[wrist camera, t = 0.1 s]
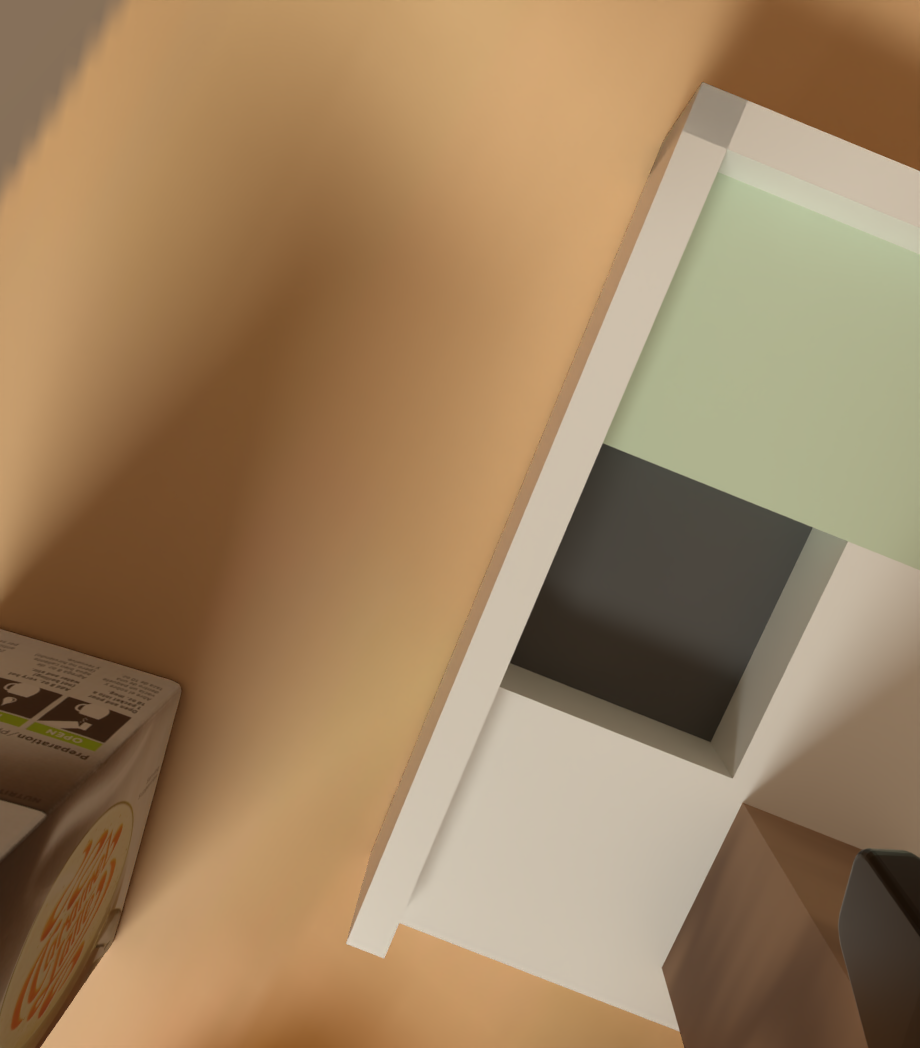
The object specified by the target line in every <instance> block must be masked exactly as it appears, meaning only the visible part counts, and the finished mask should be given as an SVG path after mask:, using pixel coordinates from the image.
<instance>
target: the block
mask: <svg viewBox="0 0 920 1048" xmlns="http://www.w3.org/2000/svg"><path fill="white" fill-rule="evenodd" d="M861 850H862V849H859V848H857V847H854V846H852V845H849V844H847V843H844V842H842V841H839V840H837V839H834V838H831V837H829V836H826V835H824V834H821V833H819V832H816V831H814V830H811V829H809V828H806V827H803V826H801V825H798V824H796V823H793V822H791V821H788V820H786V819H783V818H781V817H778V816H776V815H773V814H770V813H768V812H765V811H763V810H760V809H758V808H755V807H753V806H750V805H748V804H745V803H742V805H741V807H740V809H739V811H738V813H737V815H736V817H735V819H734V821H733V823H732V825H731V827H730V829H729V831H728V833H727V835H726V837H725V839H724V841H723V843H722V845H721V848H720V850H719V852H718V854H717V856H716V858H715V860H714V862H713V864H712V866H711V868H710V870H709V872H708V874H707V876H706V878H705V880H704V882H703V884H702V886H701V888H700V890H699V892H698V895H697V897H696V899H695V901H694V903H693V905H692V907H691V909H690V911H689V913H688V915H687V917H686V919H685V921H684V923H683V925H682V927H681V929H680V931H679V933H678V935H677V937H676V939H675V941H674V944H673V946H672V948H671V950H670V952H669V954H668V956H667V958H666V960H665V962H664V964H663V966H662V971H663V975H664V978H665V982H666V985H667V988H668V992H669V995H670V999H671V1002H672V1006H673V1009H674V1013H675V1016H676V1020H677V1023H678V1027H679V1030H680V1034H681V1037H682V1041H683V1044H684V1048H868V1047H867V1043H866V1039H865V1036H864V1032H863V1028H862V1024H861V1021H860V1017H859V1013H858V1009H857V1006H856V1002H855V998H854V994H853V991H852V987H851V983H850V979H849V976H848V972H847V968H846V964H845V961H844V957H843V953H842V949H841V945H840V940H839V931H838V921H839V914H840V910H841V906H842V902H843V898H844V895H845V891H846V887H847V884H848V880H849V876H850V872H851V869H852V865H853V862H854V859H855V857H856V855H857V854H858V853H859V852H860V851H861Z"/></svg>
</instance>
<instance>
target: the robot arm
mask: <svg viewBox="0 0 920 1048" xmlns="http://www.w3.org/2000/svg"><path fill="white" fill-rule="evenodd" d="M838 931H839V940H840V945H841V949H842V953H843V957H844V961H845V964H846V968H847V972H848V976H849V979H850V983H851V987H852V991H853V994H854V998H855V1002H856V1006H857V1009H858V1013H859V1017H860V1021H861V1024H862V1028H863V1032H864V1036H865V1039H866V1043H867V1047H868V1048H920V858H919V857H918V856H916V855H915V854H913V853H911V852H909V851H905V850H895V849H874V848H867V849H863V850H861V851H860V852H859V853H858V854H857V855H856V857H855V859H854V862H853V865H852V869H851V872H850V876H849V880H848V884H847V887H846V891H845V895H844V898H843V902H842V906H841V910H840V914H839V921H838Z"/></svg>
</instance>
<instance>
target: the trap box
mask: <svg viewBox="0 0 920 1048" xmlns="http://www.w3.org/2000/svg"><path fill="white" fill-rule="evenodd" d="M742 803H745V804H748V805H750V806H753V807H755V808H758V809H760V810H763V811H765V812H768V813H770V814H773V815H776V816H778V817H781V818H783V819H786V820H788V821H791V822H793V823H796V824H798V825H801V826H803V827H806V828H809V829H811V830H814V831H816V832H819V833H821V834H824V835H826V836H829V837H831V838H834V839H837V840H839V841H842V842H844V843H847V844H849V845H852V846H854V847H857V848H859V849H862V850H863V849H867V848H874V849H895V850H905V851H909V852H911V853H913V854H915V855H916V856H918V857H919V858H920V171H918V170H916V169H913V168H911V167H909V166H906V165H904V164H901V163H899V162H896V161H894V160H891V159H889V158H887V157H884V156H882V155H879V154H877V153H874V152H872V151H870V150H867V149H865V148H862V147H860V146H857V145H855V144H852V143H850V142H848V141H845V140H843V139H840V138H838V137H835V136H833V135H831V134H828V133H826V132H823V131H821V130H818V129H816V128H813V127H811V126H809V125H806V124H804V123H801V122H799V121H796V120H794V119H792V118H789V117H787V116H784V115H782V114H779V113H777V112H775V111H772V110H770V109H767V108H765V107H762V106H760V105H757V104H755V103H753V102H750V101H748V100H745V99H743V98H740V97H738V96H736V95H733V94H731V93H728V92H726V91H723V90H721V89H718V88H716V87H714V86H711V85H709V84H706V83H704V82H702V83H701V85H700V86H699V88H698V89H697V91H696V92H695V94H694V95H693V97H692V98H691V100H690V101H689V103H688V104H687V106H686V107H685V109H684V110H683V112H682V113H681V115H680V116H679V118H678V119H677V121H676V122H675V124H674V125H673V127H672V128H671V130H670V131H669V133H668V134H667V136H666V137H665V139H664V140H663V143H662V145H661V148H660V150H659V153H658V155H657V157H656V160H655V162H654V165H653V167H652V170H651V172H650V175H649V177H648V179H647V182H646V184H645V187H644V189H643V192H642V194H641V196H640V199H639V201H638V204H637V206H636V209H635V211H634V213H633V216H632V218H631V221H630V223H629V226H628V228H627V231H626V233H625V235H624V238H623V240H622V243H621V245H620V248H619V250H618V252H617V255H616V257H615V260H614V262H613V265H612V267H611V269H610V272H609V274H608V277H607V279H606V282H605V284H604V287H603V289H602V291H601V294H600V296H599V299H598V301H597V304H596V306H595V308H594V311H593V313H592V316H591V318H590V321H589V323H588V325H587V328H586V330H585V333H584V335H583V338H582V340H581V343H580V345H579V347H578V350H577V352H576V355H575V357H574V360H573V362H572V364H571V367H570V369H569V372H568V374H567V377H566V379H565V381H564V384H563V386H562V389H561V391H560V394H559V396H558V399H557V401H556V403H555V406H554V408H553V411H552V413H551V416H550V418H549V420H548V423H547V425H546V428H545V430H544V433H543V435H542V437H541V440H540V442H539V445H538V447H537V450H536V452H535V455H534V457H533V459H532V462H531V464H530V467H529V469H528V472H527V474H526V476H525V479H524V481H523V484H522V486H521V489H520V491H519V493H518V496H517V498H516V501H515V503H514V506H513V508H512V511H511V513H510V515H509V518H508V520H507V523H506V525H505V528H504V530H503V532H502V535H501V537H500V540H499V542H498V545H497V547H496V550H495V552H494V554H493V557H492V559H491V562H490V564H489V567H488V569H487V571H486V574H485V576H484V579H483V581H482V584H481V586H480V588H479V591H478V593H477V596H476V598H475V601H474V603H473V606H472V608H471V610H470V613H469V615H468V618H467V620H466V623H465V625H464V627H463V630H462V632H461V635H460V637H459V640H458V642H457V644H456V647H455V649H454V652H453V654H452V657H451V659H450V662H449V664H448V666H447V669H446V671H445V674H444V676H443V679H442V681H441V683H440V686H439V688H438V691H437V693H436V696H435V698H434V700H433V703H432V705H431V708H430V710H429V713H428V715H427V718H426V720H425V722H424V725H423V727H422V730H421V732H420V735H419V737H418V739H417V742H416V744H415V747H414V749H413V752H412V754H411V756H410V759H409V761H408V764H407V766H406V769H405V771H404V774H403V776H402V778H401V781H400V783H399V786H398V788H397V791H396V793H395V795H394V798H393V800H392V803H391V805H390V808H389V810H388V812H387V815H386V817H385V820H384V822H383V825H382V827H381V830H380V832H379V834H378V837H377V839H376V842H375V844H374V847H373V849H372V851H371V854H370V857H369V861H368V865H367V869H366V872H365V876H364V880H363V883H362V887H361V891H360V894H359V898H358V902H357V905H356V909H355V913H354V916H353V920H352V924H351V927H350V931H349V935H348V938H347V942H346V944H348V945H351V946H353V947H356V948H358V949H361V950H364V951H366V952H369V953H371V954H374V955H376V956H379V957H382V958H385V955H386V953H387V951H388V948H389V946H390V944H391V941H392V939H393V936H394V934H395V932H396V929H397V927H398V925H399V923H401V924H403V925H406V926H408V927H411V928H414V929H416V930H419V931H421V932H424V933H426V934H429V935H432V936H434V937H437V938H439V939H442V940H445V941H447V942H450V943H452V944H455V945H457V946H460V947H463V948H465V949H468V950H470V951H473V952H475V953H478V954H481V955H483V956H486V957H488V958H491V959H494V960H496V961H499V962H501V963H504V964H506V965H509V966H512V967H514V968H517V969H519V970H522V971H525V972H527V973H530V974H532V975H535V976H537V977H540V978H543V979H545V980H548V981H550V982H553V983H556V984H558V985H561V986H563V987H566V988H568V989H571V990H574V991H576V992H579V993H581V994H584V995H587V996H589V997H592V998H594V999H597V1000H599V1001H602V1002H605V1003H607V1004H610V1005H612V1006H615V1007H617V1008H620V1009H623V1010H625V1011H628V1012H630V1013H633V1014H636V1015H638V1016H641V1017H643V1018H646V1019H648V1020H651V1021H654V1022H656V1023H659V1024H661V1025H664V1026H667V1027H669V1028H672V1029H674V1030H677V1031H679V1032H680V1030H679V1027H678V1023H677V1020H676V1016H675V1013H674V1009H673V1006H672V1002H671V999H670V995H669V992H668V988H667V985H666V982H665V978H664V975H663V971H662V966H663V964H664V962H665V960H666V958H667V956H668V954H669V952H670V950H671V948H672V946H673V944H674V941H675V939H676V937H677V935H678V933H679V931H680V929H681V927H682V925H683V923H684V921H685V919H686V917H687V915H688V913H689V911H690V909H691V907H692V905H693V903H694V901H695V899H696V897H697V895H698V892H699V890H700V888H701V886H702V884H703V882H704V880H705V878H706V876H707V874H708V872H709V870H710V868H711V866H712V864H713V862H714V860H715V858H716V856H717V854H718V852H719V850H720V848H721V845H722V843H723V841H724V839H725V837H726V835H727V833H728V831H729V829H730V827H731V825H732V823H733V821H734V819H735V817H736V815H737V813H738V811H739V809H740V807H741V805H742Z"/></svg>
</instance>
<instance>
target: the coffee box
mask: <svg viewBox="0 0 920 1048" xmlns="http://www.w3.org/2000/svg"><path fill="white" fill-rule="evenodd" d="M180 695H181V687H180V685H179V684H178V683H176V682H174V681H172V680H169V679H166V678H162V677H159V676H156V675H152V674H149V673H146V672H143V671H139V670H136V669H133V668H129V667H126V666H123V665H120V664H116V663H113V662H110V661H106V660H103V659H100V658H97V657H93V656H90V655H87V654H83V653H80V652H77V651H74V650H70V649H67V648H64V647H60V646H57V645H53V644H50V643H47V642H43V641H40V640H36V639H33V638H29V637H26V636H22V635H19V634H16V633H12V632H9V631H5V630H2V629H0V1048H40V1047H41V1045H42V1044H43V1043H44V1041H45V1040H46V1038H47V1037H48V1035H49V1034H50V1033H51V1031H52V1030H53V1028H54V1027H55V1025H56V1024H57V1022H58V1021H59V1020H60V1018H61V1017H62V1015H63V1014H64V1012H65V1011H66V1010H67V1008H68V1007H69V1005H70V1004H71V1002H72V1001H73V999H74V998H75V996H76V995H77V993H78V992H79V990H80V989H81V987H82V986H83V984H84V983H85V982H86V980H87V979H88V977H89V976H90V974H91V973H92V971H93V970H94V969H95V967H96V966H97V964H98V963H99V961H100V960H101V958H102V957H103V955H104V954H105V953H106V952H107V950H108V949H109V948H110V946H111V945H112V942H113V940H114V936H115V933H116V929H117V926H118V923H119V919H120V916H121V913H122V909H123V905H124V902H125V898H126V894H127V891H128V887H129V883H130V880H131V876H132V872H133V869H134V865H135V861H136V858H137V854H138V850H139V847H140V843H141V840H142V836H143V832H144V828H145V825H146V821H147V817H148V814H149V810H150V807H151V803H152V799H153V796H154V792H155V788H156V785H157V781H158V777H159V773H160V770H161V766H162V762H163V759H164V755H165V751H166V747H167V744H168V740H169V736H170V732H171V729H172V725H173V721H174V717H175V714H176V710H177V707H178V703H179V699H180Z"/></svg>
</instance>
